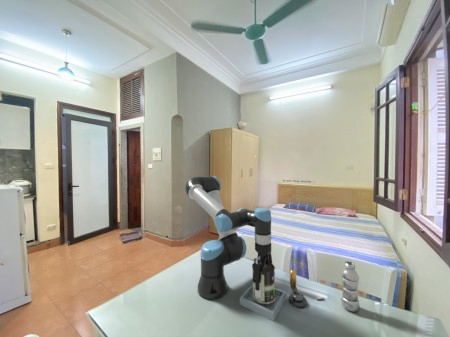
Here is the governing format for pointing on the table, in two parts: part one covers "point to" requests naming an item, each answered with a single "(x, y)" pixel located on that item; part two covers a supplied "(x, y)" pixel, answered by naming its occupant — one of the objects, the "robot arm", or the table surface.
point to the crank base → (298, 304)
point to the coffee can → (266, 284)
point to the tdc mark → (320, 299)
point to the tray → (263, 309)
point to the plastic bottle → (350, 287)
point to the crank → (295, 295)
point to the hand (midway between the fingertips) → (263, 289)
